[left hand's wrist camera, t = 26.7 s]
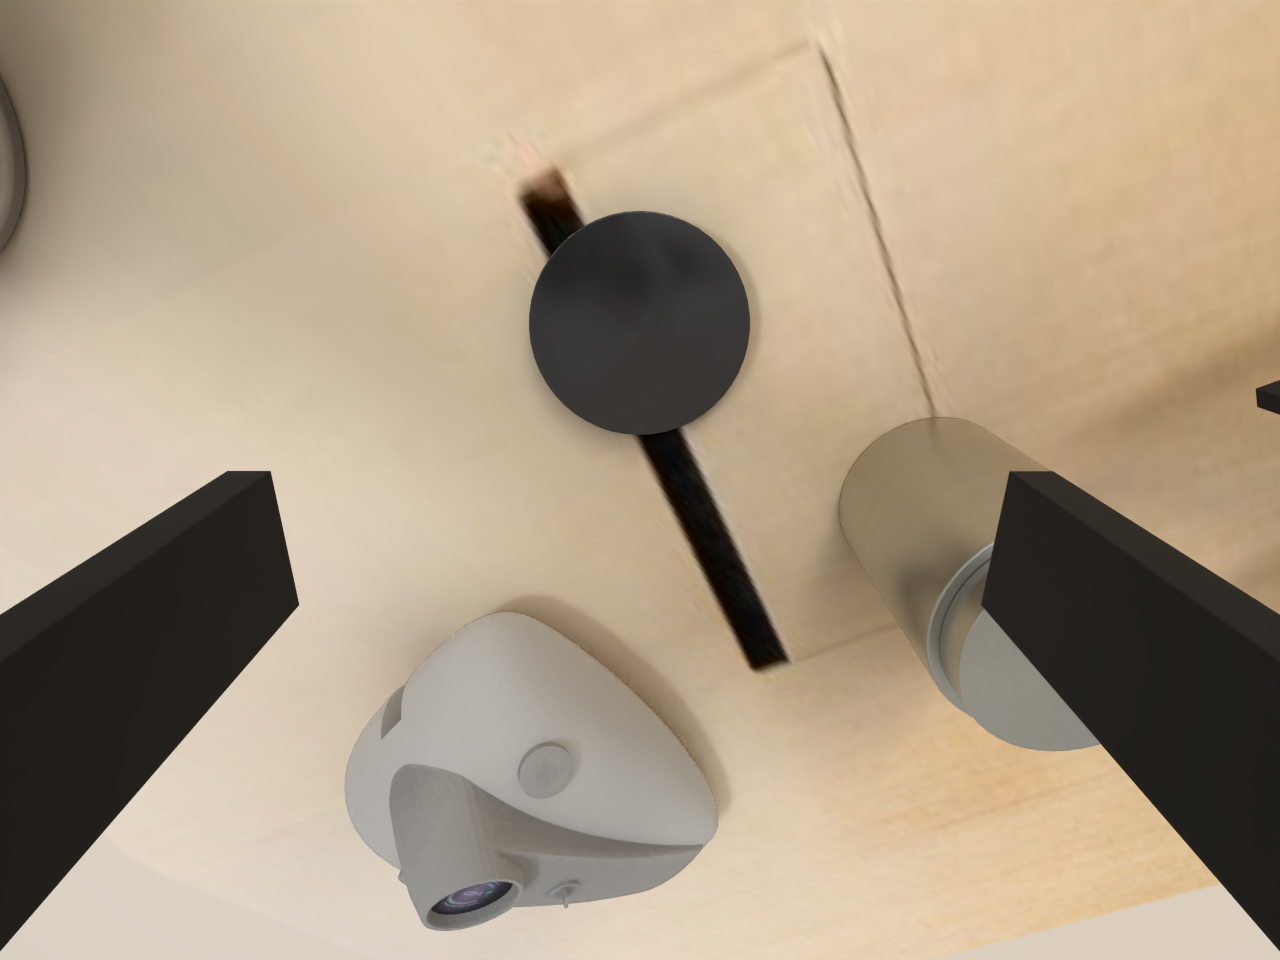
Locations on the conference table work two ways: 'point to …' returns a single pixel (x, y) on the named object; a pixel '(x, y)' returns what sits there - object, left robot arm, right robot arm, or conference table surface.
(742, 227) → the conference table surface
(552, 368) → the lid
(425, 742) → the projector
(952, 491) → the jar
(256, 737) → the conference table surface
